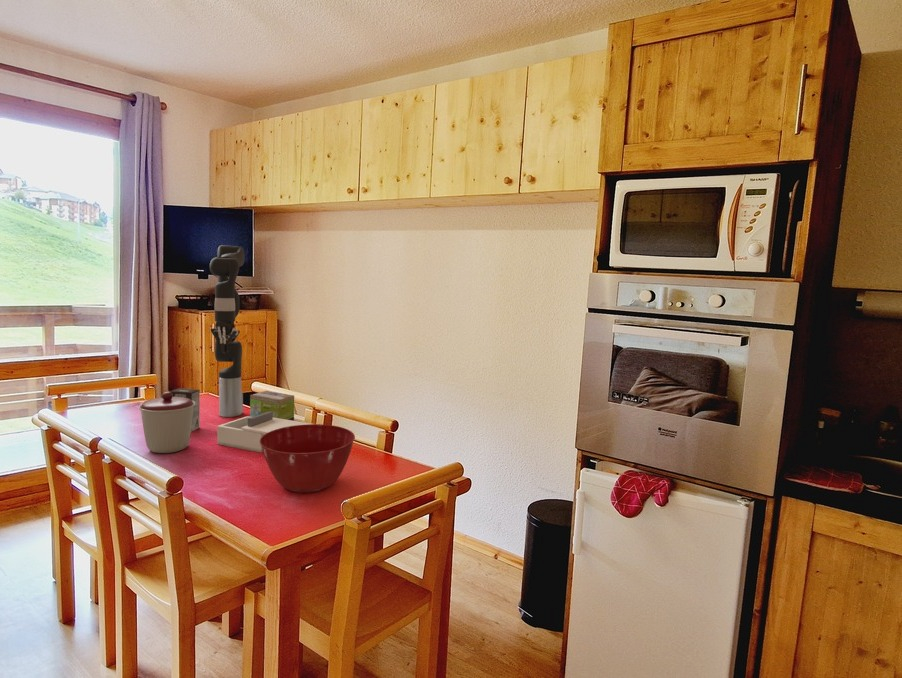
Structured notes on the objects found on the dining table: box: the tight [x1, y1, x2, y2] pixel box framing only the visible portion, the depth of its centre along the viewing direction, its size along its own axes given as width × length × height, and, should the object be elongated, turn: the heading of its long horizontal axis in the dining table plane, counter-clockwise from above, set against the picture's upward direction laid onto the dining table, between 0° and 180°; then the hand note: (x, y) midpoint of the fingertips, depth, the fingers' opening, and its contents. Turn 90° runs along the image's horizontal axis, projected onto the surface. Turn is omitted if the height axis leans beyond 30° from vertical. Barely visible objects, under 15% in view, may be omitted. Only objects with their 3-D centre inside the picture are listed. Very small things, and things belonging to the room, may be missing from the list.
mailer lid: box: [241, 411, 312, 434], centre depth 203 cm, size 21×17×4 cm
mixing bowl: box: [260, 423, 356, 494], centre depth 169 cm, size 28×28×16 cm
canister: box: [137, 391, 195, 454], centre depth 195 cm, size 18×18×21 cm
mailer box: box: [216, 415, 265, 453], centre depth 208 cm, size 20×16×7 cm
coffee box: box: [170, 387, 201, 433], centre depth 220 cm, size 9×6×16 cm
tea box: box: [249, 390, 295, 421], centre depth 225 cm, size 15×10×15 cm
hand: (225, 352), depth 216 cm, fingers closed
